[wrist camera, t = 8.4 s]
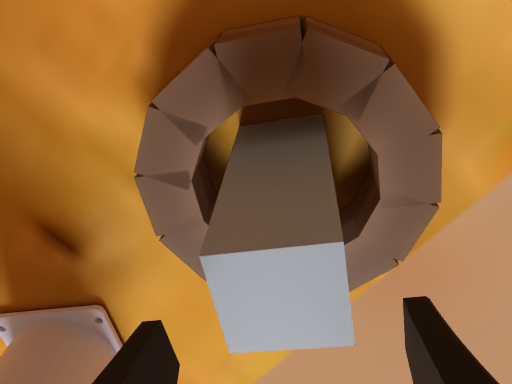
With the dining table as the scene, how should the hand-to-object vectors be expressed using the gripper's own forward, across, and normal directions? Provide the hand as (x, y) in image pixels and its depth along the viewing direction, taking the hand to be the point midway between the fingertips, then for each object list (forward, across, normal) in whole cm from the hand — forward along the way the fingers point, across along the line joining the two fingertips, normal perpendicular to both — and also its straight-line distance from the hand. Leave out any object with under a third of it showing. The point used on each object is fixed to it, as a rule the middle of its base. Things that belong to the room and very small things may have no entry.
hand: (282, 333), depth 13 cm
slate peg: (+10, 0, -1) cm, 10 cm away
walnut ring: (+10, 0, -1) cm, 10 cm away
